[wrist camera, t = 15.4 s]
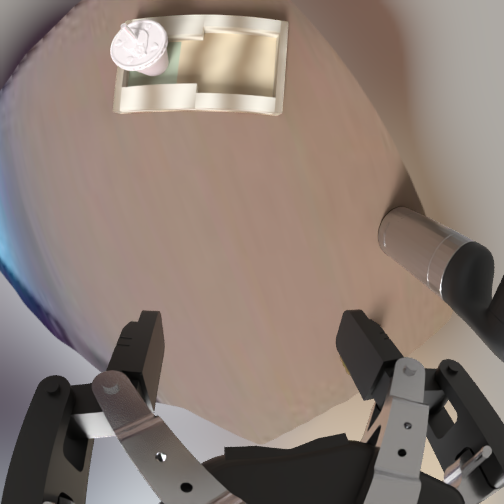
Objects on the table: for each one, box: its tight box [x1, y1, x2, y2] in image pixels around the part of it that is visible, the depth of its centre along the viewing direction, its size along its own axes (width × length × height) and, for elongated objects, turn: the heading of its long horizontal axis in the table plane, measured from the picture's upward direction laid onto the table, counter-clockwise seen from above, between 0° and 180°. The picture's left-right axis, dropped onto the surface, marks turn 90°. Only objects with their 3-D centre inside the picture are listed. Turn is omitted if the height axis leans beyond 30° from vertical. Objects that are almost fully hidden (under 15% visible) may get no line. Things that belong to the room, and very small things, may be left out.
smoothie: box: [110, 20, 169, 76], centre depth 23 cm, size 6×6×14 cm
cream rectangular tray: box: [113, 15, 288, 116], centre depth 30 cm, size 22×14×4 cm, turn 86°
